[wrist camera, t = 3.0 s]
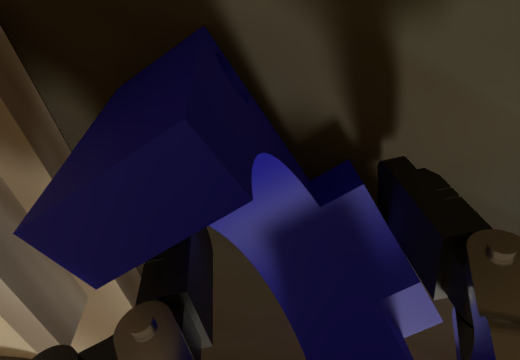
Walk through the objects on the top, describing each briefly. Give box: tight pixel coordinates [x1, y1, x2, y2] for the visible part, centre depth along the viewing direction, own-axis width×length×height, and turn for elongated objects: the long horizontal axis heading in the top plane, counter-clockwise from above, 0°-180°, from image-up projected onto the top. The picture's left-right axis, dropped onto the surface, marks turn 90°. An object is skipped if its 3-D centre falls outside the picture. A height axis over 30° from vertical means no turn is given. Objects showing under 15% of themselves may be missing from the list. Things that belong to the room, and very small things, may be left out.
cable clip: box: [13, 26, 443, 360], centre depth 10 cm, size 12×4×6 cm, turn 32°
